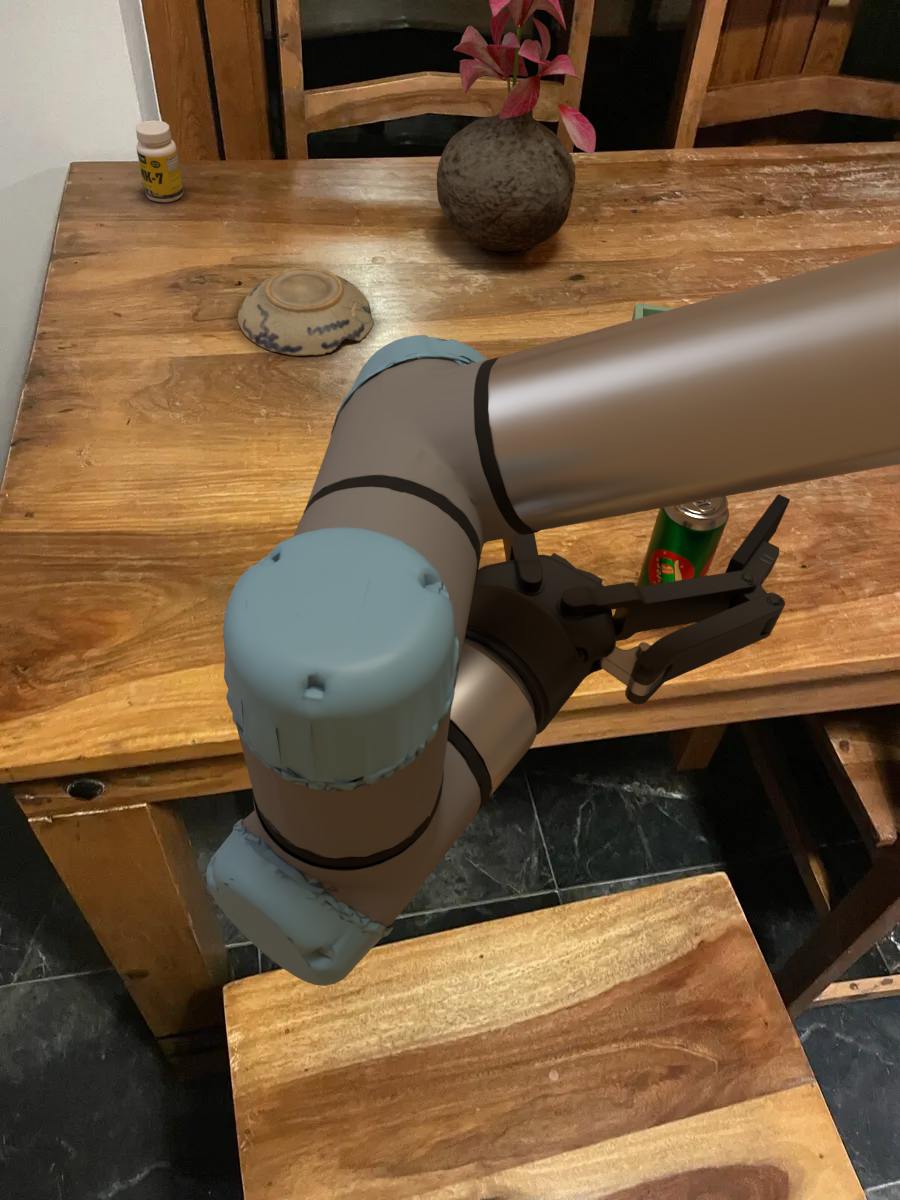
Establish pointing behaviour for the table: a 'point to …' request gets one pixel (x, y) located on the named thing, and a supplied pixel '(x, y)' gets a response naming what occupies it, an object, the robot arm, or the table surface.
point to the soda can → (684, 541)
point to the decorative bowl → (304, 312)
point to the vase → (511, 143)
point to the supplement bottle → (158, 162)
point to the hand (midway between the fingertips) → (674, 464)
